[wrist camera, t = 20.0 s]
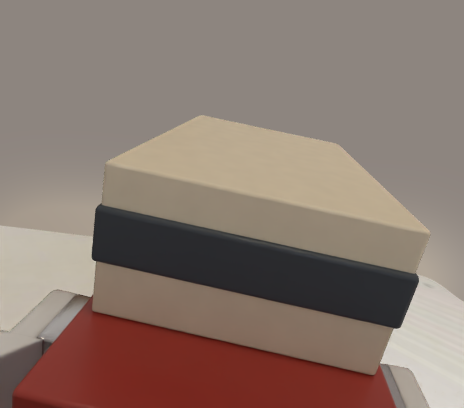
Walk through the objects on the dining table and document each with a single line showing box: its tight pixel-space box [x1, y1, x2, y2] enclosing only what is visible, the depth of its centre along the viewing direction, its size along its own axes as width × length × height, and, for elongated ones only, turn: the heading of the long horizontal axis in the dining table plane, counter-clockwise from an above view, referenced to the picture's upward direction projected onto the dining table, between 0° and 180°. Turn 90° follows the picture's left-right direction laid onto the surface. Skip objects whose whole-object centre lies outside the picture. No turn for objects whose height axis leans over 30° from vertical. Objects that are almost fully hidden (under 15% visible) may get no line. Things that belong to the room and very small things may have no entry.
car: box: [12, 115, 430, 408], centre depth 11 cm, size 13×5×10 cm, turn 174°
